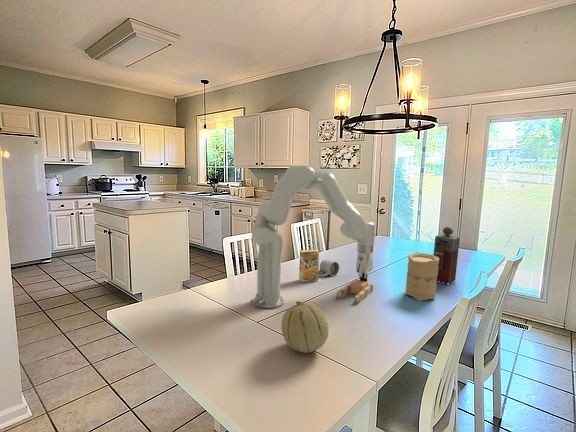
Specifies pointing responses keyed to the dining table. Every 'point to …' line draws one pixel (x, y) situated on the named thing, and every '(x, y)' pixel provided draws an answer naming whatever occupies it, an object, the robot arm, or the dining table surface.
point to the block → (357, 286)
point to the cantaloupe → (305, 327)
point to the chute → (359, 296)
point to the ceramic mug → (328, 268)
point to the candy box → (309, 265)
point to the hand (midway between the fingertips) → (363, 285)
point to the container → (422, 276)
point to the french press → (446, 255)
